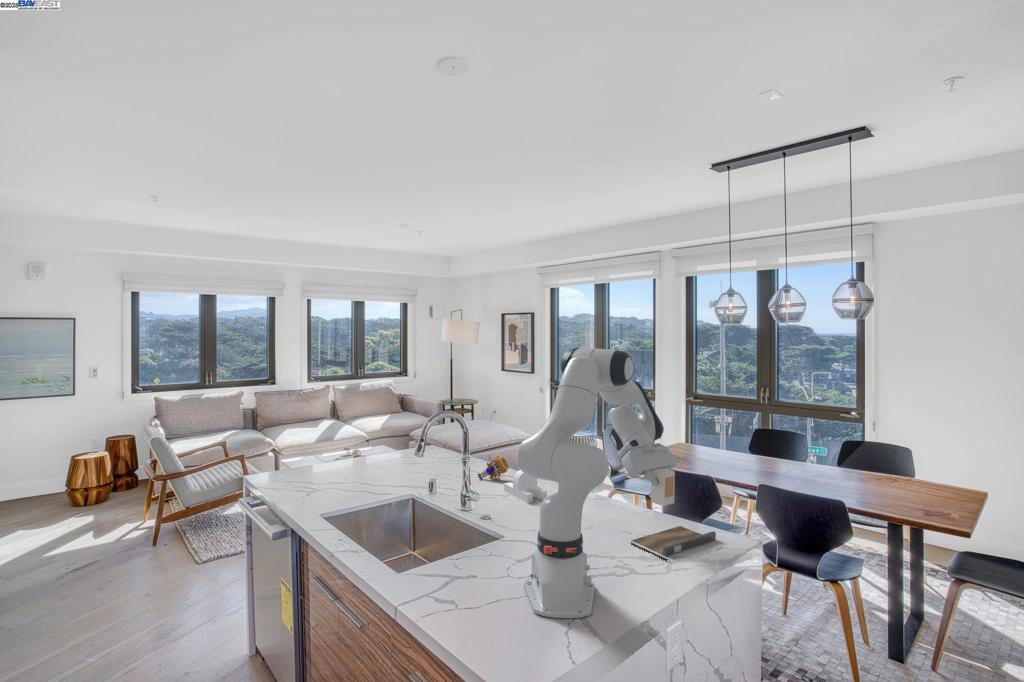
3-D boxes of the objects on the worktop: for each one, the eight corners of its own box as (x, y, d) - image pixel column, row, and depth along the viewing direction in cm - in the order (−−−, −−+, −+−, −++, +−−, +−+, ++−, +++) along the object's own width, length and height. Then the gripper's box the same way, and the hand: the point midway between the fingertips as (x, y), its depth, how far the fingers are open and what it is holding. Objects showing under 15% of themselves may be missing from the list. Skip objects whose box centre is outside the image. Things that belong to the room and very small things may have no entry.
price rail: (716, 540, 164) (716, 532, 164) (666, 556, 151) (666, 548, 151) (713, 538, 165) (713, 531, 165) (663, 555, 152) (663, 546, 152)
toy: (471, 463, 237) (498, 446, 236) (477, 465, 244) (504, 449, 242) (483, 489, 231) (511, 473, 230) (489, 491, 238) (516, 474, 236)
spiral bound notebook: (715, 544, 165) (715, 539, 165) (665, 561, 152) (665, 556, 152) (680, 530, 176) (680, 525, 176) (630, 544, 163) (631, 540, 163)
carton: (650, 501, 160) (651, 469, 160) (661, 498, 163) (661, 467, 162) (664, 506, 155) (664, 473, 155) (674, 503, 158) (675, 471, 158)
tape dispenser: (503, 492, 218) (504, 466, 218) (522, 488, 223) (523, 463, 223) (527, 504, 203) (527, 476, 203) (547, 500, 208) (547, 473, 208)
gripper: (656, 448, 174) (679, 483, 166) (613, 455, 163) (635, 493, 155) (667, 437, 171) (691, 473, 162) (623, 443, 159) (647, 482, 151)
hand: (663, 483), depth 159 cm, fingers closed on carton, 5 cm apart
